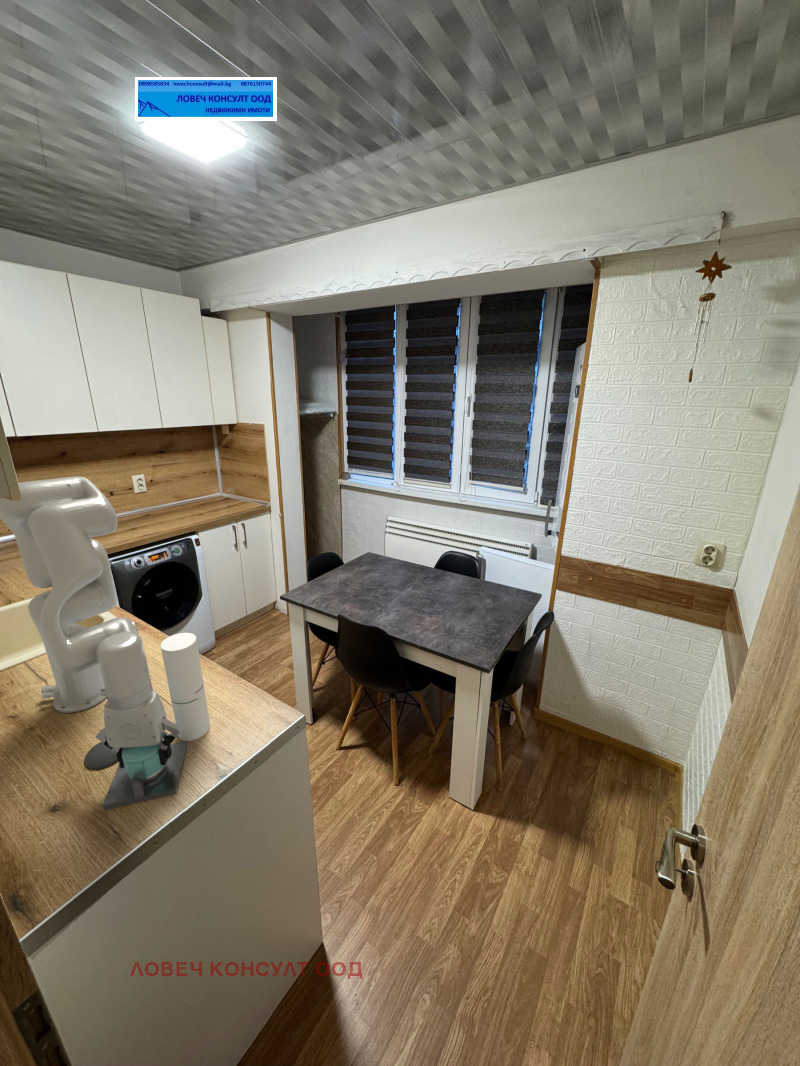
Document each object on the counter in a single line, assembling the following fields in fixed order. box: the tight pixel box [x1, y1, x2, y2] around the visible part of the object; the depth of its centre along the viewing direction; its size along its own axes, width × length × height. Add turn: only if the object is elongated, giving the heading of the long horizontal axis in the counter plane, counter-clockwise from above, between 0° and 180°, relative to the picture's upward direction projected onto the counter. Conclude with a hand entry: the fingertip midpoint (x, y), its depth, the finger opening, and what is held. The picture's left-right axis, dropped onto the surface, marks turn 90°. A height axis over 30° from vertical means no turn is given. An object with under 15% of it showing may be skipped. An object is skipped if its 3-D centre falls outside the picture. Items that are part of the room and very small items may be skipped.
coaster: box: [84, 741, 119, 770], centre depth 94 cm, size 8×8×1 cm
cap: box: [122, 738, 164, 779], centre depth 88 cm, size 10×7×5 cm
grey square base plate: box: [102, 740, 189, 811], centre depth 89 cm, size 13×13×7 cm
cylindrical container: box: [160, 632, 211, 742], centre depth 98 cm, size 7×7×25 cm
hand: (146, 760), depth 88 cm, fingers closed on cap, 7 cm apart
